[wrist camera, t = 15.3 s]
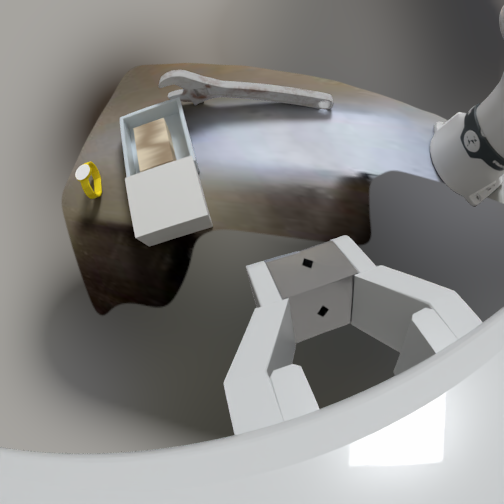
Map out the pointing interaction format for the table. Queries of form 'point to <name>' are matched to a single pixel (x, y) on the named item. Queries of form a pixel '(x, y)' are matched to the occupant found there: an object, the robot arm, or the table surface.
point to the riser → (167, 202)
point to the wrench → (238, 90)
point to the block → (153, 144)
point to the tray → (166, 110)
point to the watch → (83, 176)
